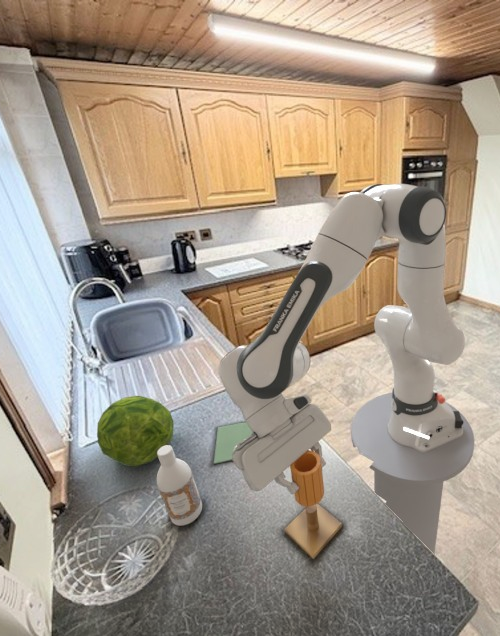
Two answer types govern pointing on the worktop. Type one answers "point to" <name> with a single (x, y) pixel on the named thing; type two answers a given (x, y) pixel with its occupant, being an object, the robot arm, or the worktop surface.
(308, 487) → the orange ribbed tube
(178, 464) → the bath foam
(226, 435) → the mat
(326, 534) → the post
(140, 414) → the lettuce
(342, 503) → the worktop surface
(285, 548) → the worktop surface
